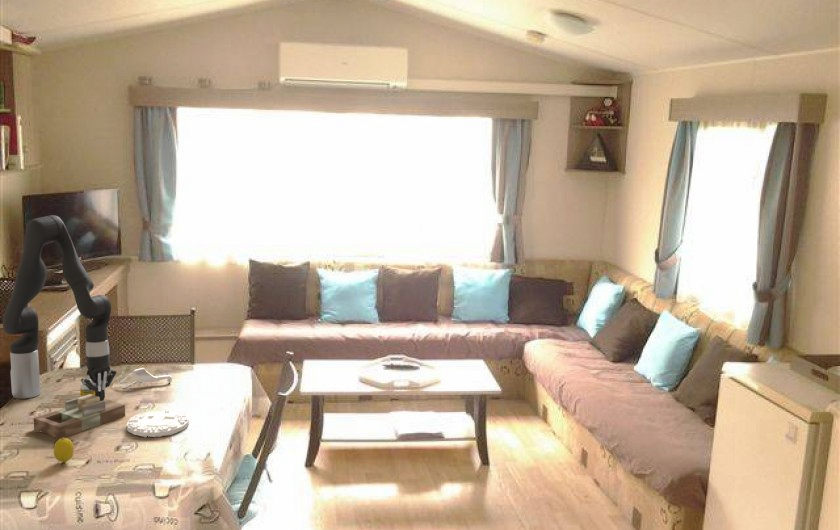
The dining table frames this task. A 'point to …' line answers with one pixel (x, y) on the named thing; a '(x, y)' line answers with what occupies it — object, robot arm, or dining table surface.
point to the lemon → (63, 449)
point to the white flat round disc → (157, 423)
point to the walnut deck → (78, 417)
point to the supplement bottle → (86, 390)
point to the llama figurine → (145, 377)
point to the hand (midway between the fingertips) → (100, 400)
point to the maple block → (87, 400)
